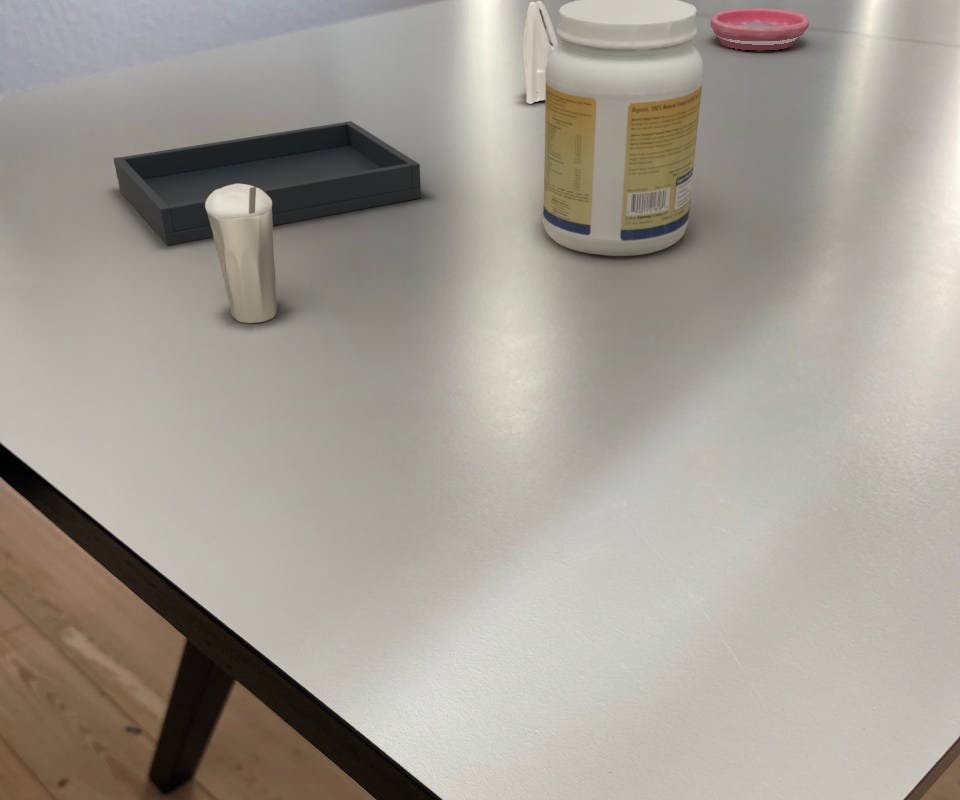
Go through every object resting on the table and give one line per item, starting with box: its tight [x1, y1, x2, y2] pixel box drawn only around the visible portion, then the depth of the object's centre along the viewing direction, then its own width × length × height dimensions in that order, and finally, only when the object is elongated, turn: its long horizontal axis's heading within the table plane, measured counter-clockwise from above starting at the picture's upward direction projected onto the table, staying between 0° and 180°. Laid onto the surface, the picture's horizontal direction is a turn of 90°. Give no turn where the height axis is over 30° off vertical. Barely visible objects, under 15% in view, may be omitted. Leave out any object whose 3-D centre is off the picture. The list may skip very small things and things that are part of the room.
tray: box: [112, 120, 422, 246], centre depth 102 cm, size 24×16×3 cm, turn 118°
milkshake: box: [205, 184, 278, 324], centre depth 79 cm, size 4×5×10 cm
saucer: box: [710, 8, 810, 51], centre depth 145 cm, size 12×12×3 cm
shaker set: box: [522, 0, 559, 105], centre depth 125 cm, size 12×4×11 cm, turn 108°
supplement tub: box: [542, 0, 704, 257], centre depth 89 cm, size 12×12×17 cm
